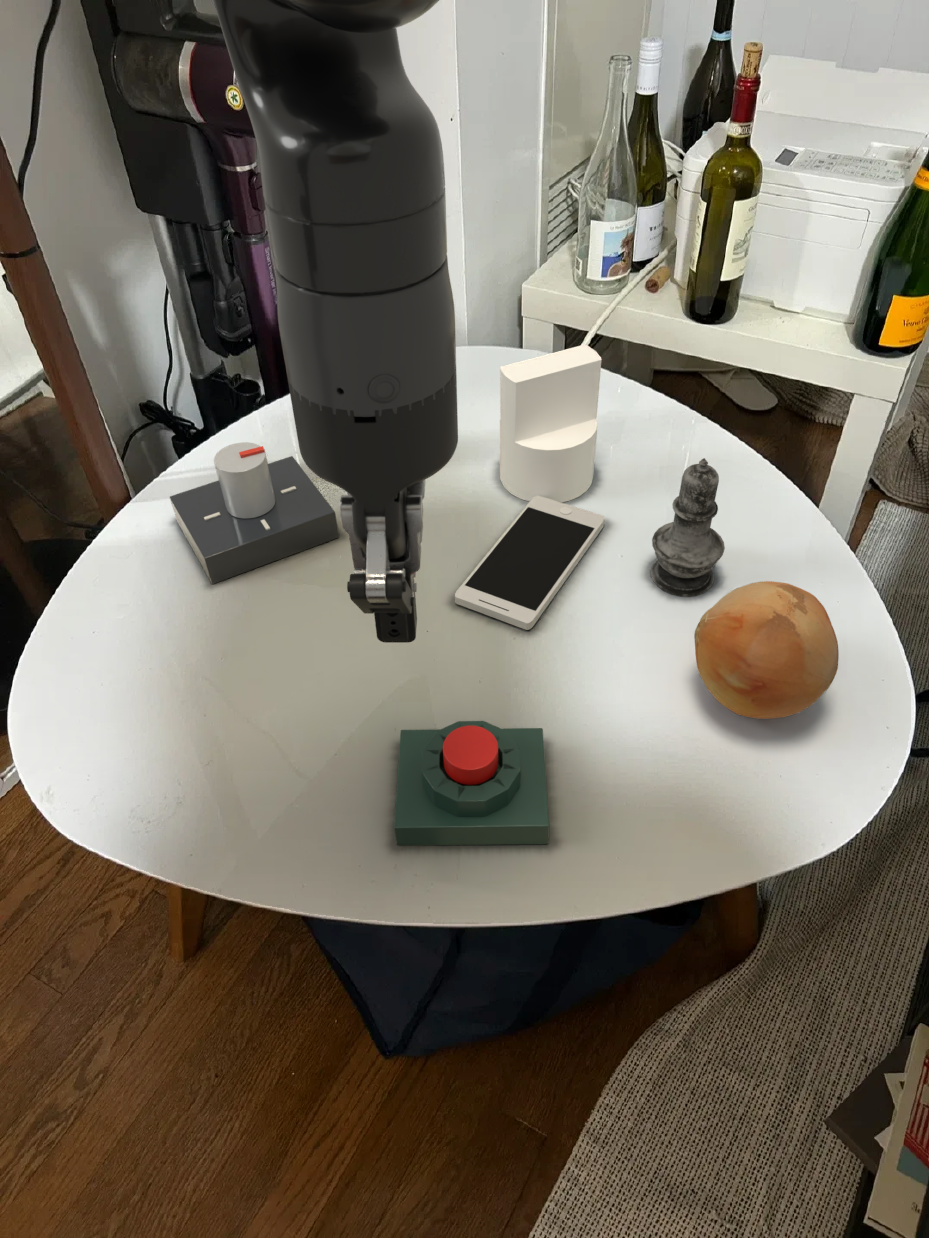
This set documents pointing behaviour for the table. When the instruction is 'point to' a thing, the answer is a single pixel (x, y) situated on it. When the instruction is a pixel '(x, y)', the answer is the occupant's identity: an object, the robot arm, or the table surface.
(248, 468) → the rotary knob
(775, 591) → the onion
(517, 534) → the smartphone
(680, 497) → the grey chess piece
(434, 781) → the button block
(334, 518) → the dark grey flat block
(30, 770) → the table surface
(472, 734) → the stop button
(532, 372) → the base with upright slab
